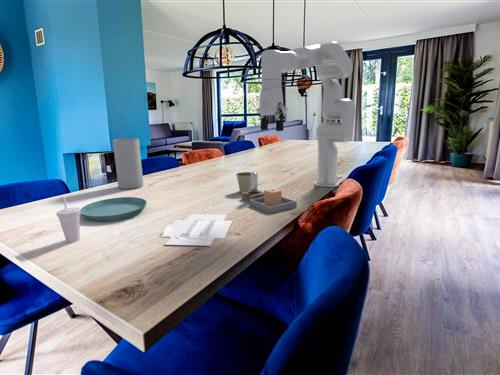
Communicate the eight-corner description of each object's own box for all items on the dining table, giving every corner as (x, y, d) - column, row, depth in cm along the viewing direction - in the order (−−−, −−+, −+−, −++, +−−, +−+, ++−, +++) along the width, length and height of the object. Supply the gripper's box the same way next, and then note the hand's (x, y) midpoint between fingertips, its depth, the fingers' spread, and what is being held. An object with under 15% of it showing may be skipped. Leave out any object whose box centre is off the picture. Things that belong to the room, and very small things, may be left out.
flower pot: (253, 194, 148) (253, 176, 146) (234, 193, 150) (233, 175, 148) (257, 189, 157) (256, 172, 155) (238, 188, 159) (238, 171, 157)
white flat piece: (235, 217, 119) (234, 207, 118) (221, 252, 92) (221, 240, 91) (182, 216, 121) (181, 207, 120) (153, 250, 94) (152, 239, 93)
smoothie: (67, 236, 102) (60, 194, 98) (88, 235, 102) (81, 193, 99) (57, 244, 96) (49, 200, 92) (79, 243, 96) (72, 199, 93)
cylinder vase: (113, 188, 165) (107, 140, 159) (130, 183, 176) (125, 138, 170) (132, 190, 160) (126, 140, 154) (148, 184, 171) (143, 138, 165)
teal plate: (85, 208, 132) (83, 201, 131) (145, 201, 140) (144, 194, 139) (76, 228, 110) (75, 219, 109) (149, 218, 118) (148, 210, 117)
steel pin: (255, 198, 141) (254, 171, 139) (259, 199, 139) (258, 172, 136) (249, 199, 140) (249, 172, 137) (253, 200, 137) (253, 173, 135)
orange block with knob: (273, 202, 132) (273, 188, 131) (281, 205, 128) (281, 190, 127) (264, 204, 129) (264, 190, 128) (271, 207, 125) (271, 192, 124)
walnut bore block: (256, 195, 145) (256, 189, 144) (267, 199, 138) (267, 193, 138) (241, 198, 140) (241, 192, 140) (252, 203, 134) (252, 196, 133)
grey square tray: (275, 199, 138) (275, 194, 138) (296, 207, 127) (296, 201, 127) (249, 205, 131) (249, 199, 130) (270, 213, 120) (269, 207, 119)
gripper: (250, 86, 126) (251, 130, 130) (278, 83, 112) (278, 131, 116) (265, 86, 130) (266, 129, 134) (294, 83, 116) (293, 130, 120)
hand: (271, 130), depth 125 cm, fingers open, 9 cm apart
